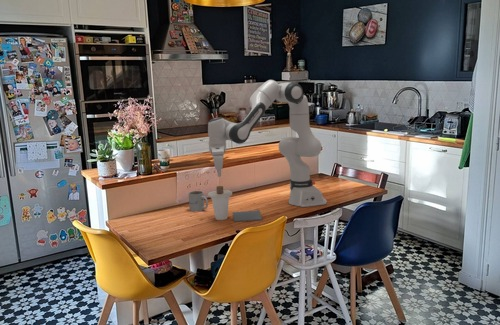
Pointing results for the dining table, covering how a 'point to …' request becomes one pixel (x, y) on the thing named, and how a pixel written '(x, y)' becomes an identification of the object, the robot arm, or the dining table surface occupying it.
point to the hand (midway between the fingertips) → (219, 174)
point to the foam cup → (220, 207)
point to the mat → (247, 216)
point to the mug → (197, 201)
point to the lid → (220, 193)
